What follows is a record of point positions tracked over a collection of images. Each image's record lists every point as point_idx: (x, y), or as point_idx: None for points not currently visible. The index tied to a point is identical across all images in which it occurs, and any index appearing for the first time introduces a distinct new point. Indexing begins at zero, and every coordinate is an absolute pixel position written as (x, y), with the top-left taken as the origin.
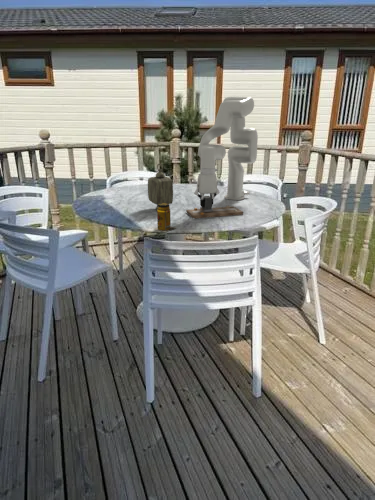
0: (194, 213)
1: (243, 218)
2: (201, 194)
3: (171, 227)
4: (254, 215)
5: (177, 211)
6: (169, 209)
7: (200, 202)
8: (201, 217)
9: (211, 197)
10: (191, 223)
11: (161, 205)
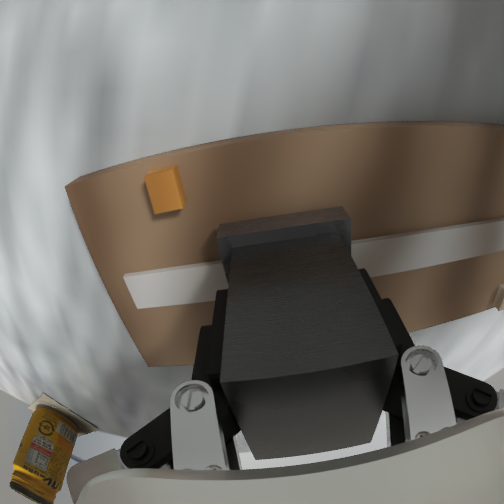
0: (151, 319)
1: (470, 351)
2: (203, 462)
3: (74, 417)
4: None
5: (12, 136)
6: (55, 492)
7: (200, 356)
8: None
9: (372, 433)
10: (148, 406)
11: (32, 500)
